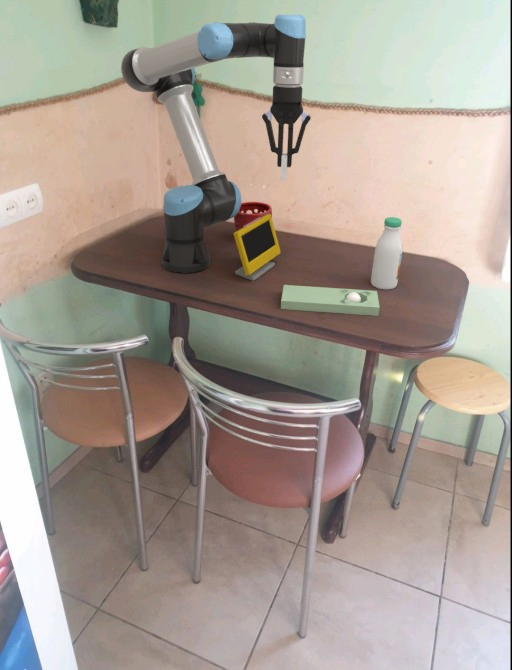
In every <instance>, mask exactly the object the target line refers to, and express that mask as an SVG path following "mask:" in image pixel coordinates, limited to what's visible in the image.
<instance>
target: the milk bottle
mask: <svg viewBox="0 0 512 670" xmlns="http://www.w3.org/2000/svg"><path fill="white" fill-rule="evenodd" d="M402 223H403V222H402V219H401V218H398V217H395V216H392V217H386V218H385V219H384V225H383V227H384V229H383V231H382V234H381V235H380V237H379V238H378V240H377V241H376V242H377V243H376V245H375V249H374V255H373V262H372V270H371V276H370V283H371V286H373V287H374V288H376V289H379V290H386V291H388V290H393V289H395V288H396V287H397V285H398V282H399V276H400V275H399V274H400V271H401V270H400V269H401V263H402V257H403V249H404V248H403V240H402V238H401V233H400V230H401V226H402Z"/></svg>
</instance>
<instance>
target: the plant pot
mask: <svg viewBox="0 0 512 670" xmlns="http://www.w3.org/2000/svg"><path fill="white" fill-rule="evenodd" d="M255 210H257V212H255ZM248 211H250V212H251V213H248ZM266 214H271V217H273V208H272V206H271V205H270V204H268V203H265V202H260V201H245V202H241V207H240V210H239V212H238V213H237V215H236V216H235V217H233V220H234V221H233V222H234V227H235V230H236V231H238V230H240V229H242V228H243V226H245V225H246V224H248V223H250V222H252V221H254V220H255V219H257V218H259V217H263V216H265V215H266Z"/></svg>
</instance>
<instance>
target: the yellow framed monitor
mask: <svg viewBox="0 0 512 670" xmlns="http://www.w3.org/2000/svg"><path fill="white" fill-rule="evenodd" d="M272 217H273V216H272ZM272 217H271V214H266V215H265V216H263V217H259V218H257V219H255V220H254V221H252V222H250V223H248V224H246V225H245V226H243V228H242V229H240V230H238V231H237V230H236V231H235V232H233V236H234V237H233V238H234V241H235V243H236V247H237V250H238V254H239V257H240V261H241V264H242V266H240V267H239V268H237V269H236V270H235V271H234V274H235V275H236V276H239V277H242V278H244V279H247V280H250V281H252V282H254V281H256V280H257V279H258V278H259V277H261V276H262V275H263V274H265V273H266V272H268V271H269V270H270V269H272V268H273V267H275V265H276V264H275V262H273V261H271V260H273V259H275V257H277V256H279V255H280V254H281V248H280V244H279V240H278V237H277V234H276V230H275V225H274V222H273V218H272Z"/></svg>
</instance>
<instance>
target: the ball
mask: <svg viewBox="0 0 512 670" xmlns="http://www.w3.org/2000/svg"><path fill="white" fill-rule="evenodd" d="M346 300H348V301H350V302H357V303H362V302H361V297H360V295H359V294H357V293H355V292H352V293H349V294H348V295H347V297H346Z"/></svg>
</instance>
